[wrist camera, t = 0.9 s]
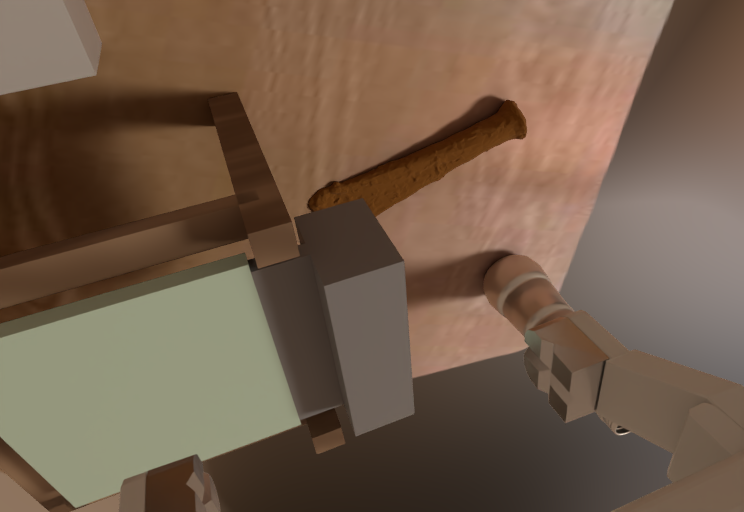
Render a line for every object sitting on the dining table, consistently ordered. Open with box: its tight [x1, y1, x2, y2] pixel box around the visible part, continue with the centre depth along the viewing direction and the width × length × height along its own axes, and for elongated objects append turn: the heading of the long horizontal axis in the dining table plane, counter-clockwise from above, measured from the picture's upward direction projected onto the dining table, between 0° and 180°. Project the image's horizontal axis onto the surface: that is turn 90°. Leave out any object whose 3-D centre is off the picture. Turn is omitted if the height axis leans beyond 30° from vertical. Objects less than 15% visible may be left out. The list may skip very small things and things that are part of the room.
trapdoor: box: [0, 198, 414, 508], centre depth 28 cm, size 14×21×6 cm, turn 95°
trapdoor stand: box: [0, 92, 345, 512], centre depth 33 cm, size 19×19×16 cm
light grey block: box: [0, 0, 102, 95], centre depth 26 cm, size 5×5×6 cm
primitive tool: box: [309, 100, 527, 217], centre depth 42 cm, size 19×6×4 cm, turn 115°
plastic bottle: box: [483, 255, 631, 435], centre depth 48 cm, size 6×7×20 cm
